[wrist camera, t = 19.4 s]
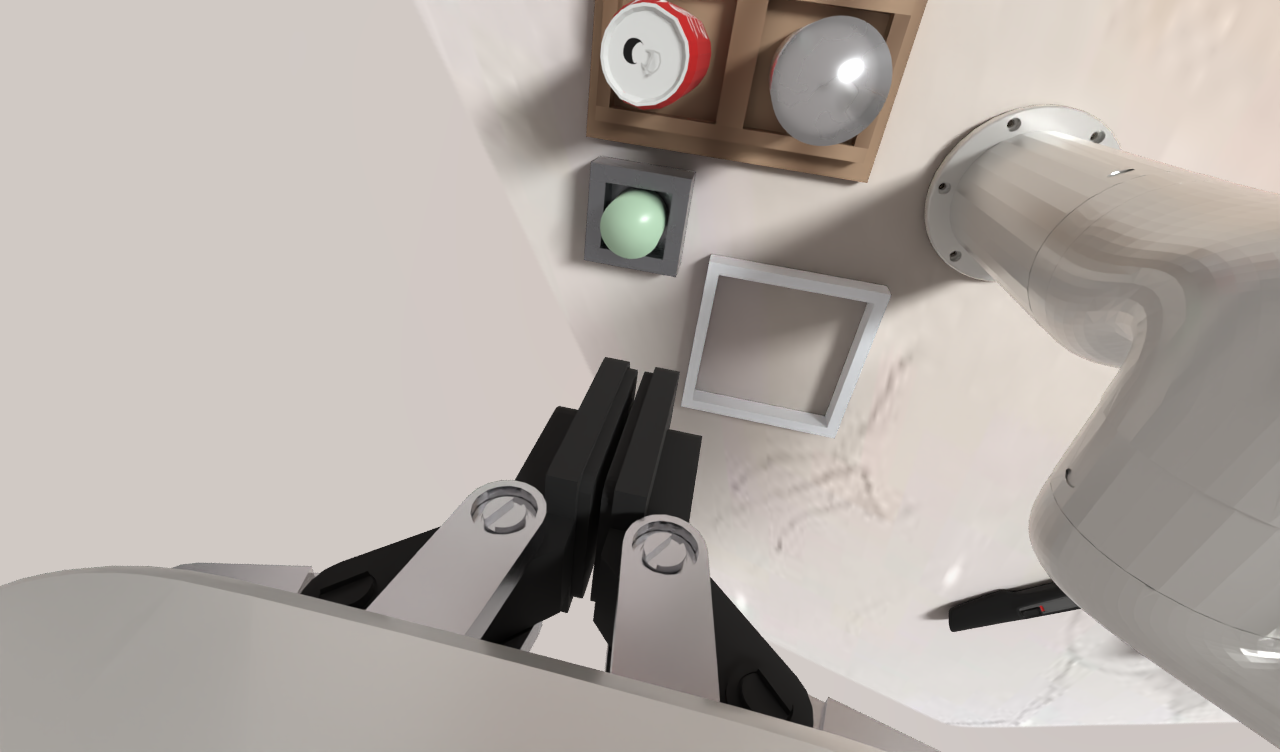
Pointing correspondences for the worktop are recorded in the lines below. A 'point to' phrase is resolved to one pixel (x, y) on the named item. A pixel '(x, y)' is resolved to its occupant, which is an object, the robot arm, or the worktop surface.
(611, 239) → the button
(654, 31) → the soda can
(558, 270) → the worktop surface
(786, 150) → the wooden compartment tray
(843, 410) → the white square frame
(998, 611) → the electric trimmer
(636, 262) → the button box
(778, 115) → the steel billet
